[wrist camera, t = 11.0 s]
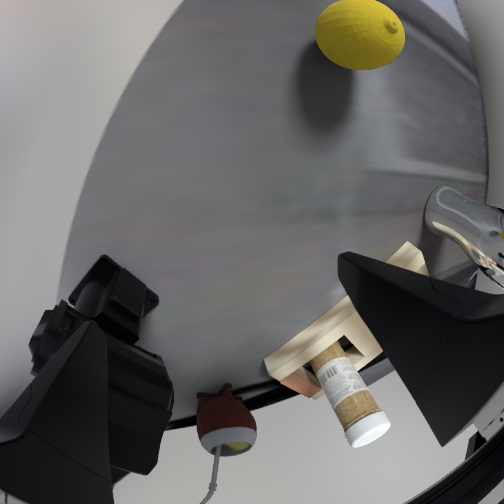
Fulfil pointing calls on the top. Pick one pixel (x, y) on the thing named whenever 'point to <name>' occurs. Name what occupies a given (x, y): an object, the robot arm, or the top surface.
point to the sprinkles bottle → (349, 396)
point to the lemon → (359, 34)
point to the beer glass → (469, 228)
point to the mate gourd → (224, 427)
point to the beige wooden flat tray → (334, 336)
